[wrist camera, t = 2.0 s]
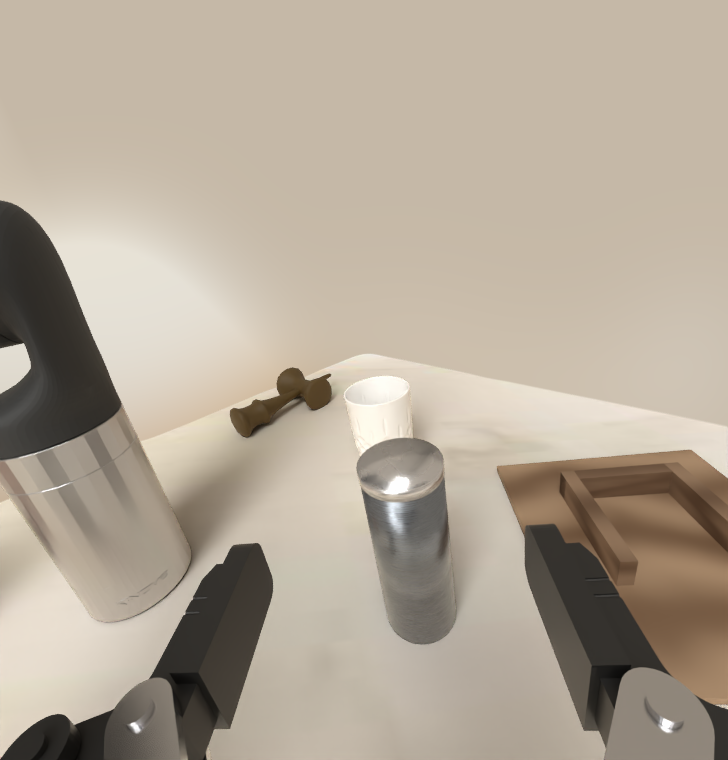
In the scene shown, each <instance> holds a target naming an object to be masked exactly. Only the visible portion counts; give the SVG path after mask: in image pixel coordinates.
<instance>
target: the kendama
mask: <svg viewBox="0 0 728 760" xmlns="http://www.w3.org/2000/svg"><path fill="white" fill-rule="evenodd" d="M330 376H331V374H327V375H324V376H322V377H320V378H317V379H314V380H311V381H308V380H305V378H304V376H303V374H302V372H301V371H300V370H299V369H297V368H289V369H286V370H285V371H283V372H282V373H281V374H280V376H279V377H278V380H277V390H278V392H279V394H280V396H277V397H274V398H271V399H267V400H262V401H260V400H254V401H253V402H252V404H251V405H249V406H247V407H245V408H241V409H237V408H233V409H231V410H230V417H231V421H232V423H233V425H234V427H235V429H236V430H237V431H238V432H239V433H240V434H241V435H242V436H244V437H248V436H250V435H251V432H252V430H253V429H254V428H255V427H256V426H258V425H260V424H262V423H266V424H267V423H269V422H270V419H271V417H272V416H273V414H275V413H276V412H277V411H278V410H279V409H281V408H282V407H283V406H284V405H286V404H287V403H289V402H290V401H291V400H293V399H294V398H296V397H298V396H301V397H303V398H304V399H305V401H306V403H307V405H308V406H309V407H310V408H311V409H315V410H317V409H320V408H322V407H323V406H325V405H326V404H327V403H328V402H329V400H330V398H331V394H332V393H331V386H330V384H329V382H328V381H327V380H326V379H327V378H329V377H330Z"/></svg>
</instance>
